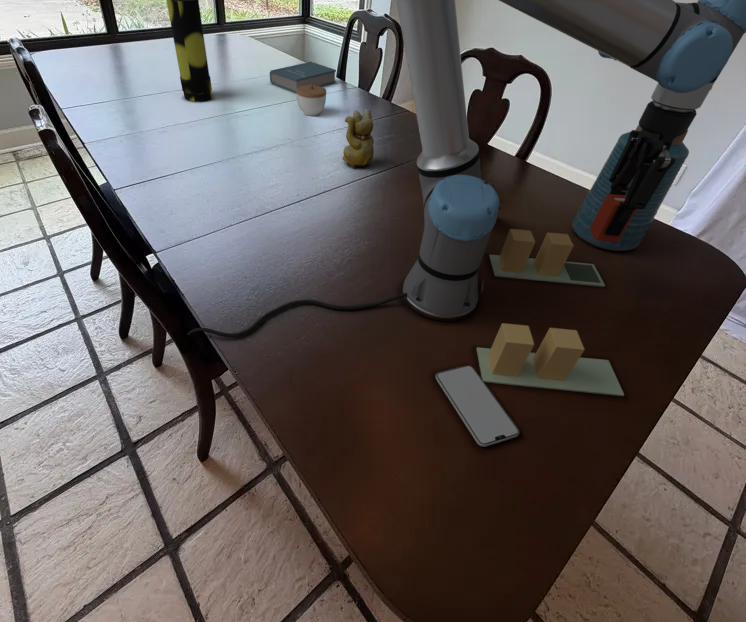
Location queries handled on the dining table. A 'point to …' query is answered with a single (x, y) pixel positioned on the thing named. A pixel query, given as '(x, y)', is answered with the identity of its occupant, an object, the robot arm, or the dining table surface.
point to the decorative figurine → (359, 139)
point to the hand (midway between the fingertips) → (607, 227)
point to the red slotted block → (608, 218)
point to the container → (190, 49)
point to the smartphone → (477, 406)
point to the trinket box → (311, 99)
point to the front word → (545, 362)
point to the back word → (542, 260)
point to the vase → (603, 187)
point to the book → (302, 76)
